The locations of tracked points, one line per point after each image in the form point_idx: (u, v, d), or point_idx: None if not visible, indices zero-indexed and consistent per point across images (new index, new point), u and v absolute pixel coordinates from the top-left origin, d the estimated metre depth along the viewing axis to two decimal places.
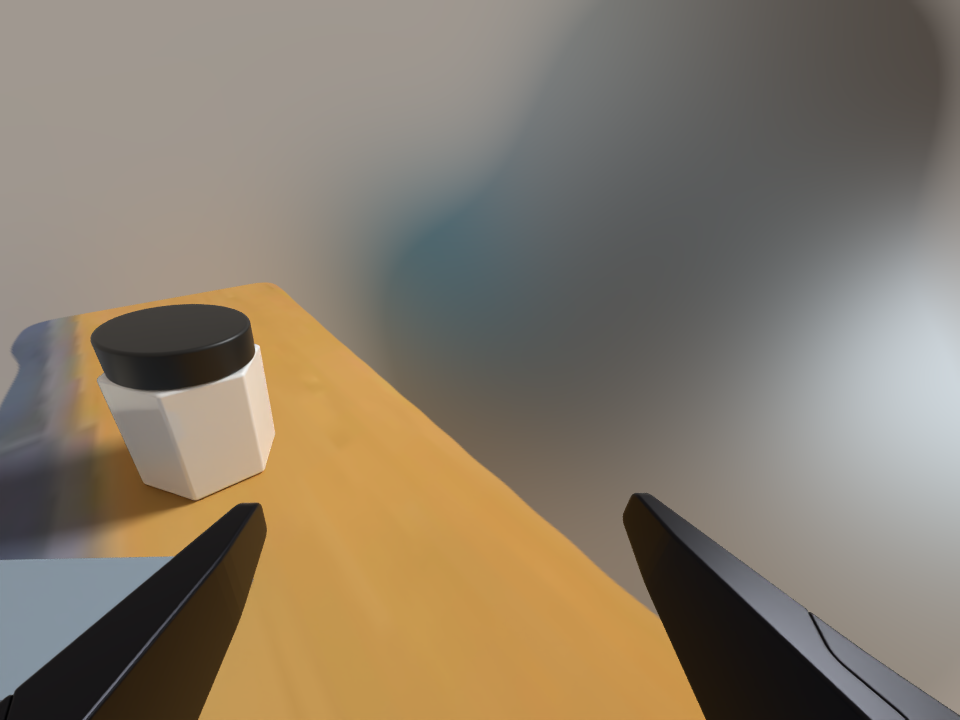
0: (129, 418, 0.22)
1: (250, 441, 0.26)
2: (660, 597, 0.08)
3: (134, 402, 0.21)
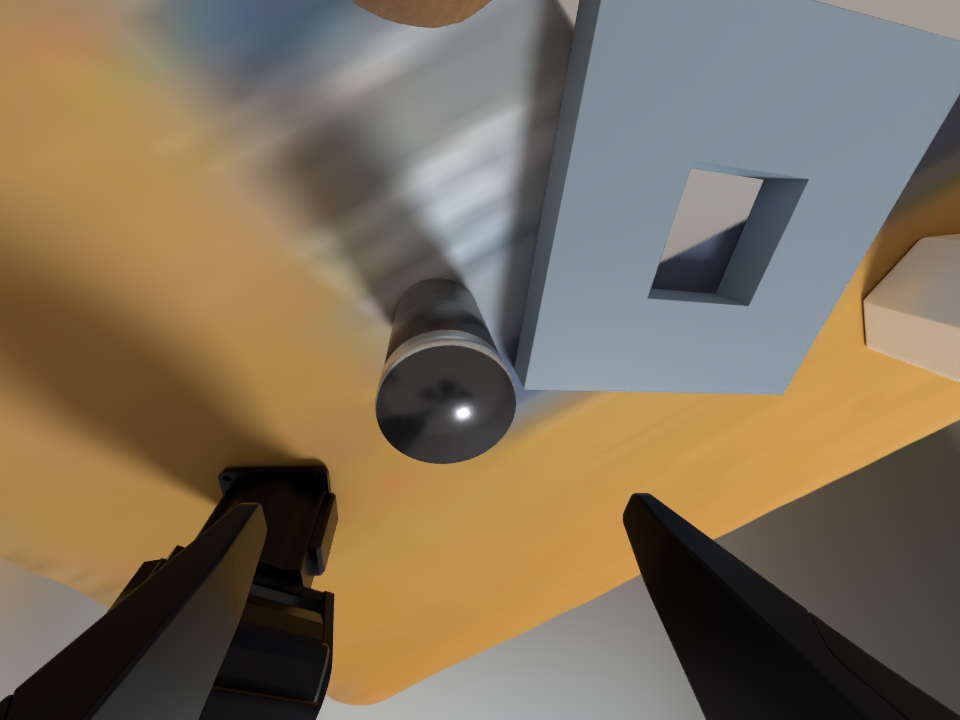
0: None
1: (925, 365, 0.22)
2: (660, 597, 0.08)
3: None
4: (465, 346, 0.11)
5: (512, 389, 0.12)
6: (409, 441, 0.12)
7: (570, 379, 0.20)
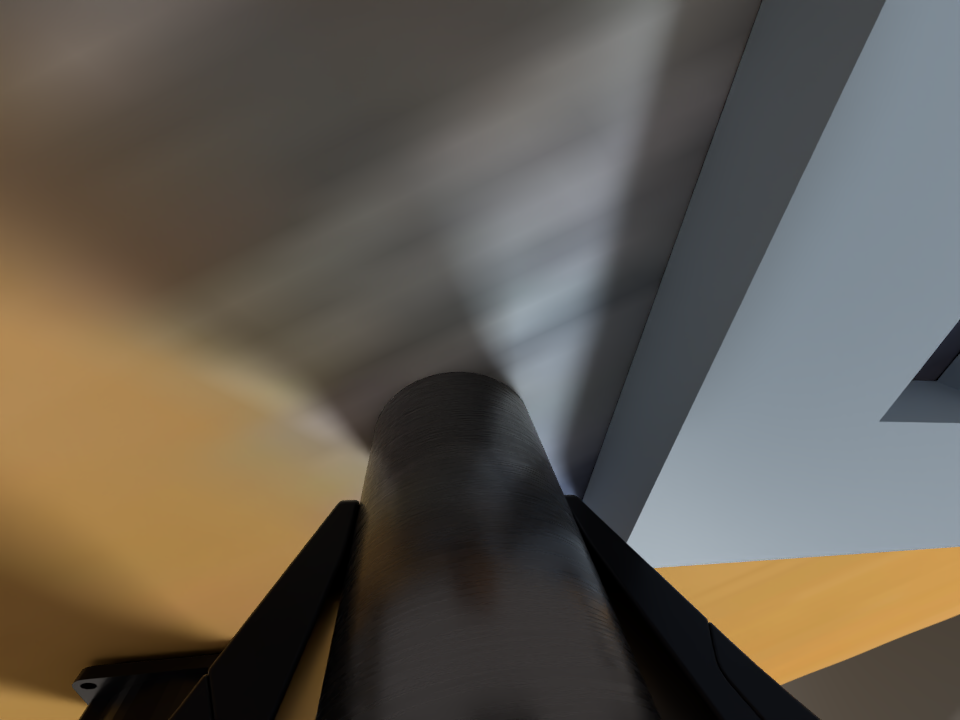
0: None
1: None
2: None
3: None
4: None
5: None
6: None
7: (699, 549, 0.11)
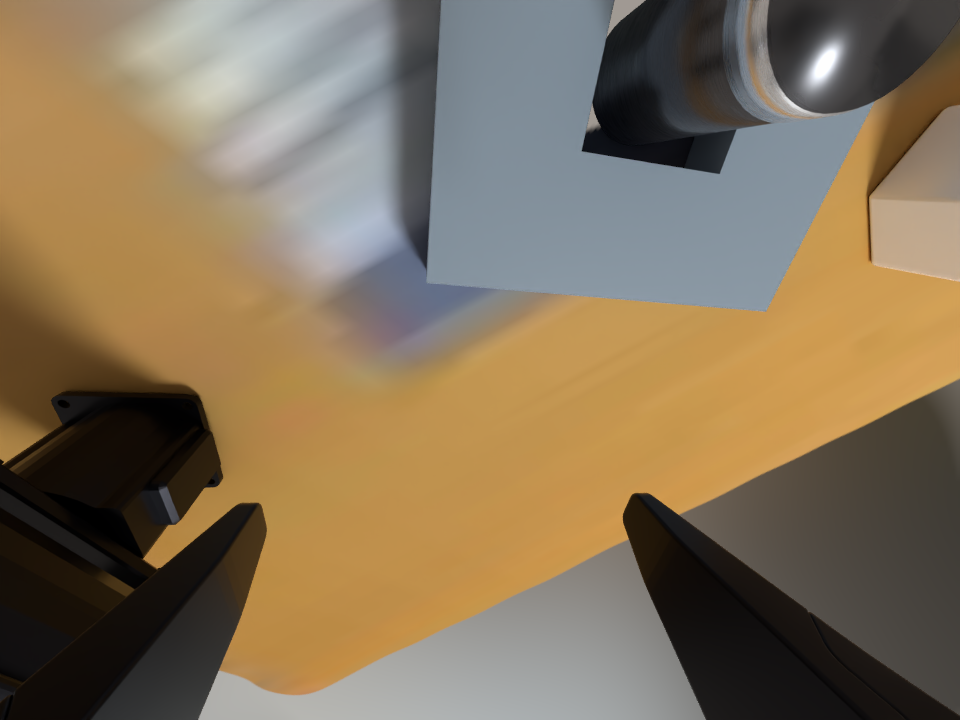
0: None
1: (947, 272, 0.18)
2: (660, 597, 0.08)
3: None
4: None
5: None
6: (803, 40, 0.07)
7: (488, 271, 0.15)
